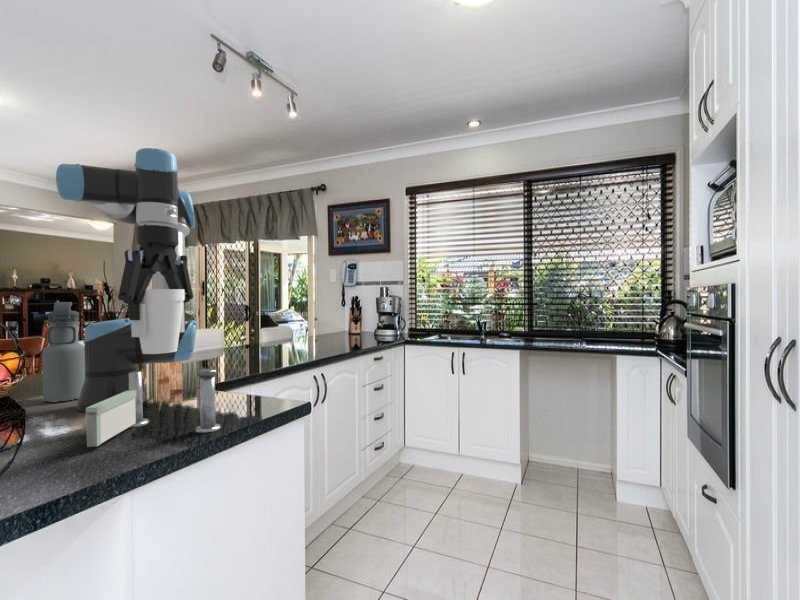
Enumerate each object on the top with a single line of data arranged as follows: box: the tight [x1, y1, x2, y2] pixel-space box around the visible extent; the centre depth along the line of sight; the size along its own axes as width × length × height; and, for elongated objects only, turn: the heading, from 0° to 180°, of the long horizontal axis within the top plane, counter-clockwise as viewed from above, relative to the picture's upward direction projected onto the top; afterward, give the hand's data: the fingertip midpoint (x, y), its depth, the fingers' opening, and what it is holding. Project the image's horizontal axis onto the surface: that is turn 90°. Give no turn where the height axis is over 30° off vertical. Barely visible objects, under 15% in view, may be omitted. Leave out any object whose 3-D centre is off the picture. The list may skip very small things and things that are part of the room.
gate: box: [85, 390, 136, 448], centre depth 87 cm, size 15×2×7 cm, turn 7°
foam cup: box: [139, 288, 185, 354], centre depth 87 cm, size 10×9×13 cm
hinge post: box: [127, 370, 150, 429], centre depth 96 cm, size 5×5×12 cm
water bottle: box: [41, 301, 85, 402], centre depth 121 cm, size 10×10×28 cm
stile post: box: [194, 368, 222, 434], centre depth 92 cm, size 5×5×13 cm
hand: (159, 334), depth 87 cm, fingers closed on foam cup, 9 cm apart
